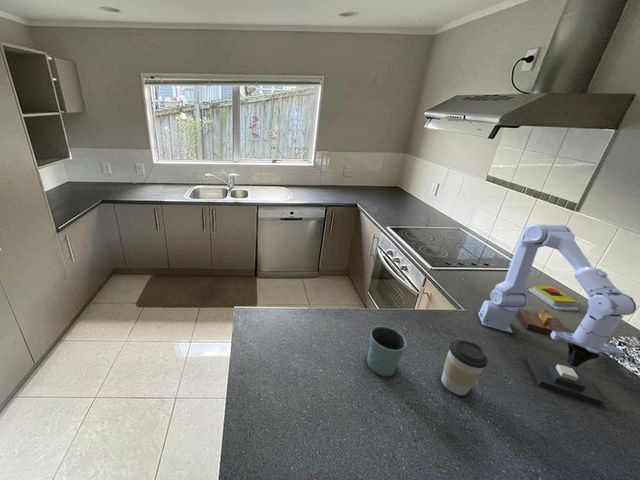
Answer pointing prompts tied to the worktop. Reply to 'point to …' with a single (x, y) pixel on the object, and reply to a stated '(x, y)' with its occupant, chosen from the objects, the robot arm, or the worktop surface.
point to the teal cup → (385, 350)
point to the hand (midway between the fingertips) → (571, 363)
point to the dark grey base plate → (563, 381)
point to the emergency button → (554, 298)
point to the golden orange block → (545, 317)
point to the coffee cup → (463, 366)
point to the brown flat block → (540, 323)
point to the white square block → (566, 372)
